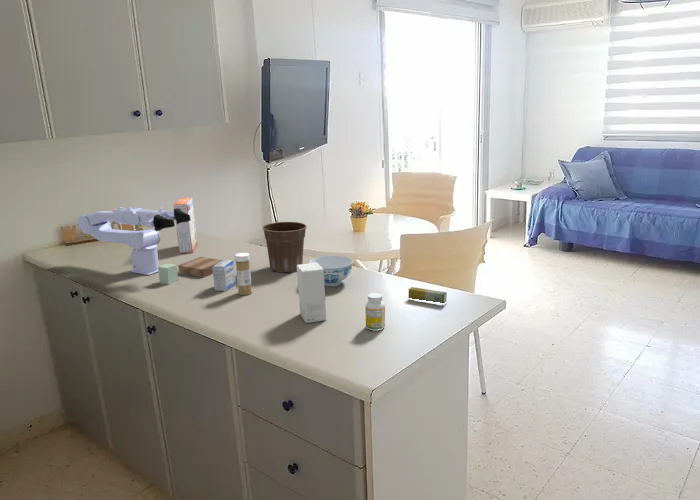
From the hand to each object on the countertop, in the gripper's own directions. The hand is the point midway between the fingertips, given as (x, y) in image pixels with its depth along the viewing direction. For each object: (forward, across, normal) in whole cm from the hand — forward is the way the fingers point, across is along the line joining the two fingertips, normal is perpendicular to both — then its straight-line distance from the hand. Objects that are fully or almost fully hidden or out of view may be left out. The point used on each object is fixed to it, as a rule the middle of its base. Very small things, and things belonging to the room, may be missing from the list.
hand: (181, 220), depth 197 cm
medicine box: (+18, -3, +22) cm, 29 cm away
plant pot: (+25, +24, +23) cm, 42 cm away
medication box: (+85, +14, +24) cm, 89 cm away
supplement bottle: (+79, -11, +23) cm, 83 cm away
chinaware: (+49, +17, +24) cm, 57 cm away
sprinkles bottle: (+28, -4, +22) cm, 36 cm away
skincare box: (+59, -12, +22) cm, 64 cm away
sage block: (-4, -7, +21) cm, 22 cm away
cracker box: (-29, +29, +22) cm, 47 cm away
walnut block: (-2, +8, +22) cm, 23 cm away
